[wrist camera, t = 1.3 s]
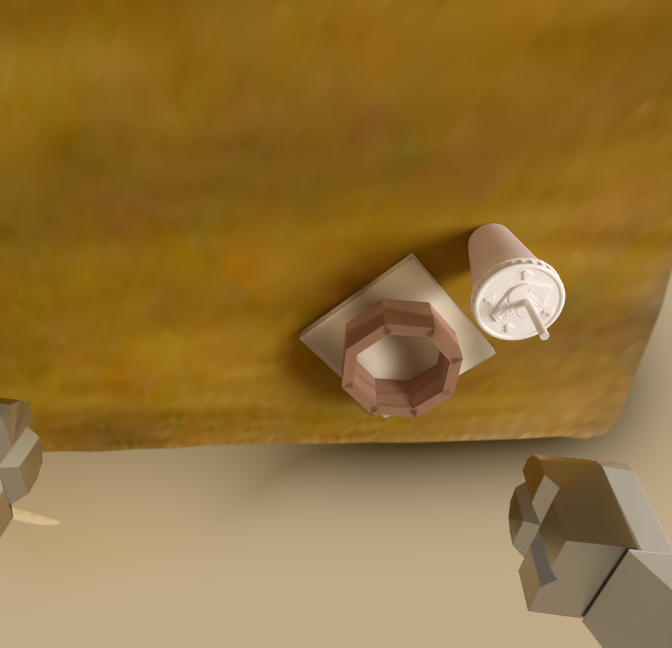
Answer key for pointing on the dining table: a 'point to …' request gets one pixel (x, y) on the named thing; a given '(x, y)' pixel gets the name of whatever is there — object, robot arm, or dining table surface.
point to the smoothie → (511, 286)
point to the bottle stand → (398, 342)
